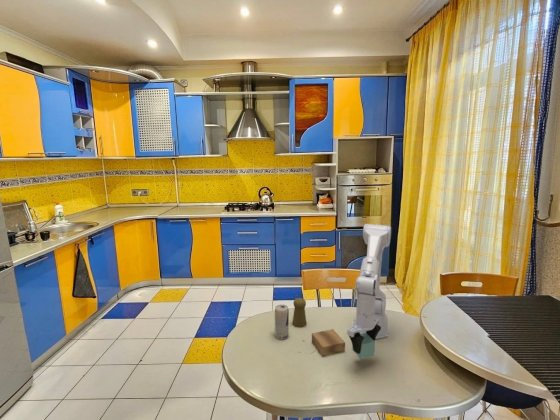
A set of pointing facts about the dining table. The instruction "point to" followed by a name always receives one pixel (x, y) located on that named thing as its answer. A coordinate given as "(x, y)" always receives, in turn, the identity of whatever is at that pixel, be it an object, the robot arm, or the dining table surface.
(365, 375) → the dining table surface
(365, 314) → the robot arm
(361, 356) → the teal cube
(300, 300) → the cork
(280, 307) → the energy drink
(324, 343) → the walnut block
